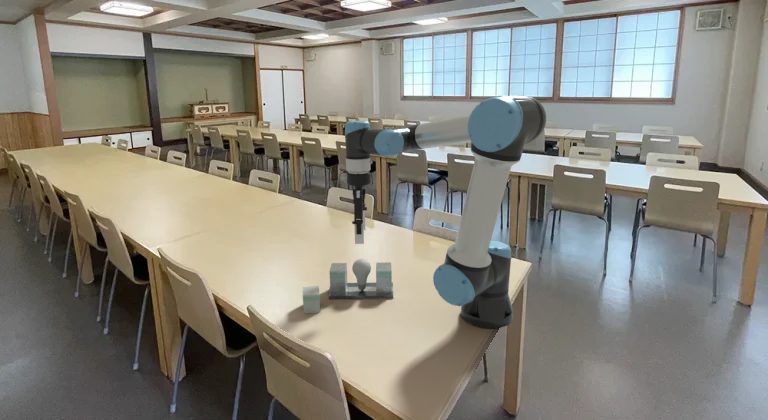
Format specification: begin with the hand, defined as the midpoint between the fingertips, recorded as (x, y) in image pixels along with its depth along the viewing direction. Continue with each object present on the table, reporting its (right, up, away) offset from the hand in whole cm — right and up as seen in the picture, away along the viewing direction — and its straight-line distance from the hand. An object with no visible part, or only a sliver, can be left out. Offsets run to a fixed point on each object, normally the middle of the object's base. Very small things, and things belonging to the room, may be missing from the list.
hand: (360, 236), depth 144 cm
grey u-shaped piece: (0, -19, +5) cm, 20 cm away
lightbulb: (0, -18, +4) cm, 19 cm away
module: (-15, -22, -5) cm, 27 cm away
